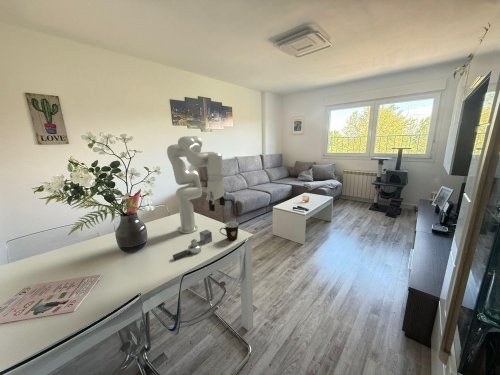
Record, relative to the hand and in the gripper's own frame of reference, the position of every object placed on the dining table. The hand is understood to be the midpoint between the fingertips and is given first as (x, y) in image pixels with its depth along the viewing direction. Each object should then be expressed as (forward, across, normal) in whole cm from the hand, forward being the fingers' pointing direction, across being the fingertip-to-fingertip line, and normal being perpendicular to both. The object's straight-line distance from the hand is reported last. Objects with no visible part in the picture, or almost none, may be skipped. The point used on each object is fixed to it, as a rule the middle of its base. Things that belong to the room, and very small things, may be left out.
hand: (217, 207), depth 111 cm
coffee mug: (+27, -16, -3) cm, 32 cm away
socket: (+27, -7, -15) cm, 32 cm away
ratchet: (+27, +9, -16) cm, 33 cm away
